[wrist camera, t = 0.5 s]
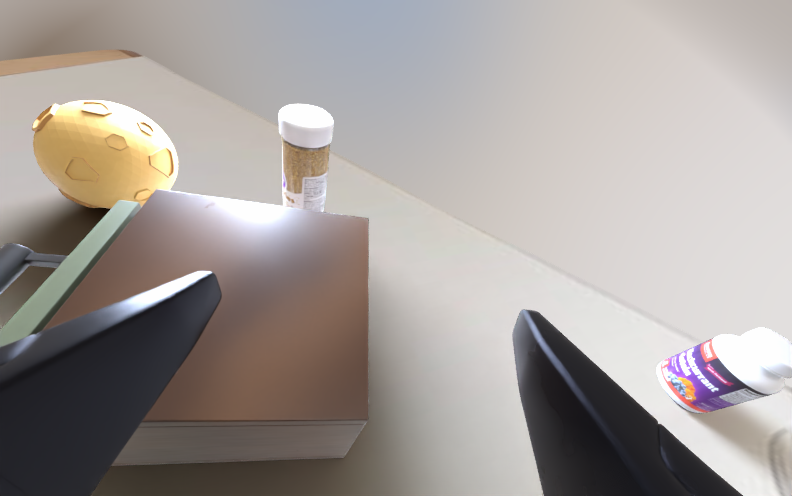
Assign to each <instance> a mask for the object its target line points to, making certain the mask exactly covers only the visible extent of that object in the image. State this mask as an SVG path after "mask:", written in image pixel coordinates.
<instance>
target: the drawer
mask: <svg viewBox="0 0 792 496" xmlns="http://www.w3.org/2000/svg"><path fill="white" fill-rule="evenodd" d="M140 209H141V206H140V203H139V202H131V201H124V200H118V202H117V203H116V204H115V205H114V206H113V207H112V208H111V209H110V210H109V211H108V212H107V214H106V215H105V216H104V217H103V218H102V219H101V220H100V221H99V222H98V223H97V225H96V226H95V227H94V228H93V229H92V230H91V231H90V232H89V233H88V234H87V236H86V237H85V238H84V239H83V240H82V241H81V242H80V243H79V244H78V245H77V247H76V248H75V249H74V250H73V251H72V252H71V253H70V254H69V255H68V256H62V255H52V254H41V253H35V252H34V251H33V250H31V249H29V248H27V247H25V246H22V245H18V244H12V243H9V244H5V245H3V246H2V247H1V248H0V295H1V294H2V293H3V292H4V291H5V290H6V289H7V288H8V287H9V286H10V285H11V284H12V283H13V282H14V281H15V280H16V279H17V278H18V277H19V276H20V275H21V274H22V273H23V272H24V271H25V270H26V269H27V268H28V267H29V266H30V265H31V266H42V267H54V268H56V270H55V271H54V272H53V273H52V274H51V275H50V276H49V277H48V278H47V279H46V281H45V282H44V283H43V284H42V285H41V286H40V287H39V288H38V289H37V290H36V292H35V293H34V294H33V295H32V296H31V297H30V298H29V299H28V300H27V301H26V303H25V304H24V305H23V306H22V307H21V308H20V309H19V310H18V311H17V312H16V314H15V315H14V316H13V317H12V318H11V319H10V320H9V321H8V322H7V323H6V324H5V326H4V327H3V328H2V329H1V330H0V347H1V346H4V345H7V344H9V343H12V342H14V341H17V340H20V339H22V338H25V337H27V336H30V335H33V334H35V335H36V334H37V333H38V332H41V331H42V330H43V329H44V328H45V326H46V325H47V324H48V323H49V321H50V320H51V319H52V318H53V316H54V315H55V314H56V313H57V312H58V310H59V309H60V308H61V307H62V305H63V304H64V303H65V302H66V300H67V299H68V298H69V297H70V295H71V294H72V293H73V292H74V290H75V289H76V288H77V287H78V285H79V284H80V283H81V282H82V281H83V279H84V278H85V277H86V276H87V274H88V273H89V272H90V271H91V269H92V268H93V267H94V266H95V264H96V263H97V262H98V261H99V259H100V258H101V257H102V256H103V254H104V253H105V252H106V251H107V250H108V248H109V247H110V246H111V245H112V243H113V242H114V241H115V240H116V238H117V237H118V236H119V235H120V233H121V232H122V231H123V230H124V228H125V227H126V226H127V225H128V223H129V222H130V221H131V220H132V219H133V217H134V216H135V215H136V214H137V212H138V211H139V210H140Z"/></svg>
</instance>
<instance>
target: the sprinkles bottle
mask: <svg viewBox="0 0 792 496" xmlns="http://www.w3.org/2000/svg"><path fill="white" fill-rule="evenodd" d="M279 132H280V135H281V138H282V157H283V160H282V161H283V167H282V176H283V206H284V207H290V208H297V209H305V210H312V211H319V212H323V211H324V208H325V199H326V188H327V177H328V159H329V147H330V142H331V140H332V136H333V119H332V117H331V116H330V115H329V114H328V113H327V112H326V111H324V110H322V109H320V108H318V107H315V106H311V105H305V104H292V105H287V106H285V107H283V108H282V109H281V110H280V112H279Z"/></svg>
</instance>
